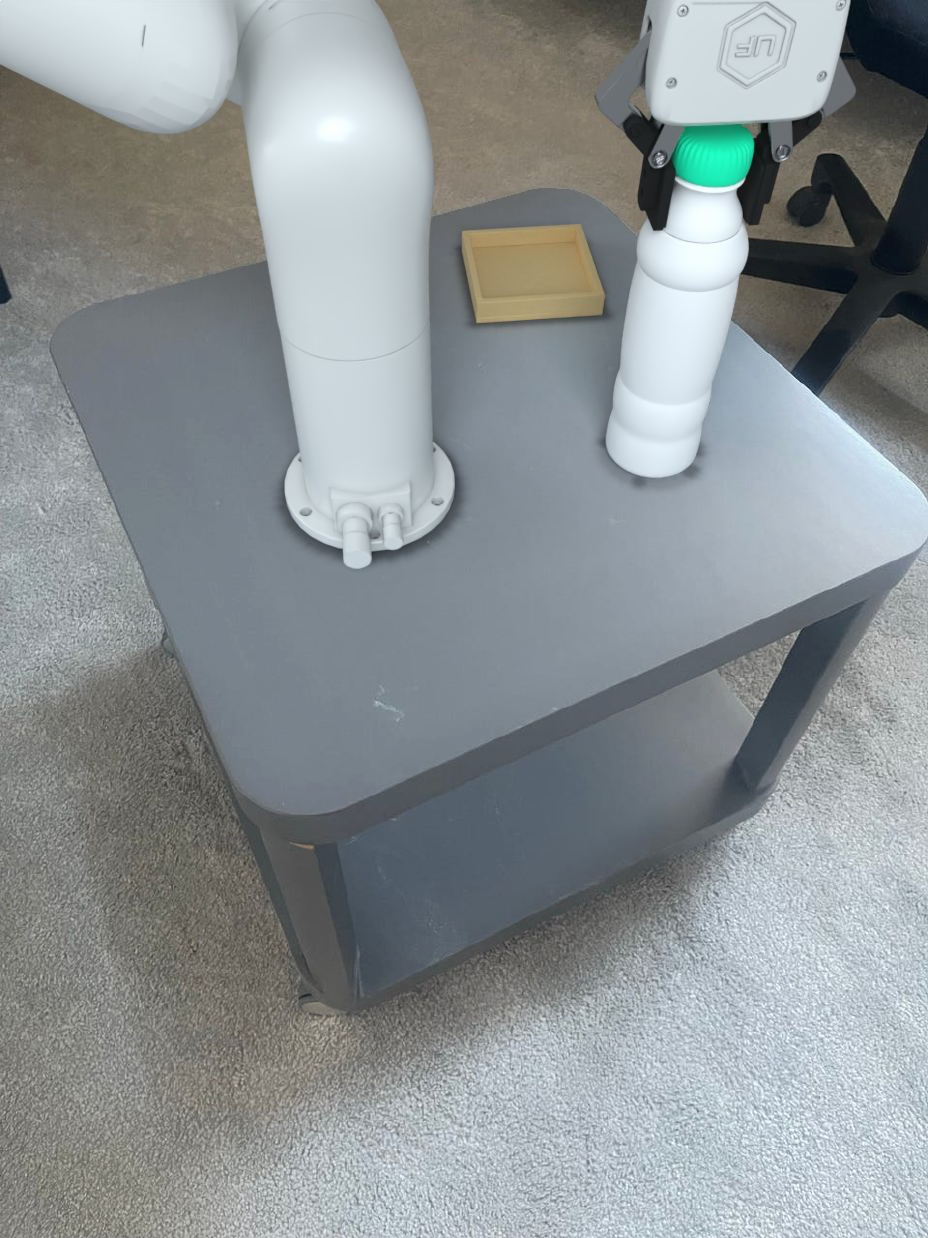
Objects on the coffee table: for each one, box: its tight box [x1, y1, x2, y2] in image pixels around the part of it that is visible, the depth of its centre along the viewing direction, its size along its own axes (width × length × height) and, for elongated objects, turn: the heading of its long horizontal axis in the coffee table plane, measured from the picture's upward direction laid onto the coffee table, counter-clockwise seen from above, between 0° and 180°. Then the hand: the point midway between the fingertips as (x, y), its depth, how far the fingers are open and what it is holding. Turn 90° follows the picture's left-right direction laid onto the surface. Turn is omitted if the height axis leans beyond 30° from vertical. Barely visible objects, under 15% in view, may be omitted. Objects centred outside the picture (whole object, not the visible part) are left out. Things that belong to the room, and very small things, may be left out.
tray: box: [461, 223, 606, 324], centre depth 91 cm, size 11×11×2 cm
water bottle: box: [605, 124, 754, 479], centre depth 68 cm, size 7×7×25 cm
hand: (700, 213), depth 63 cm, fingers closed on water bottle, 5 cm apart
